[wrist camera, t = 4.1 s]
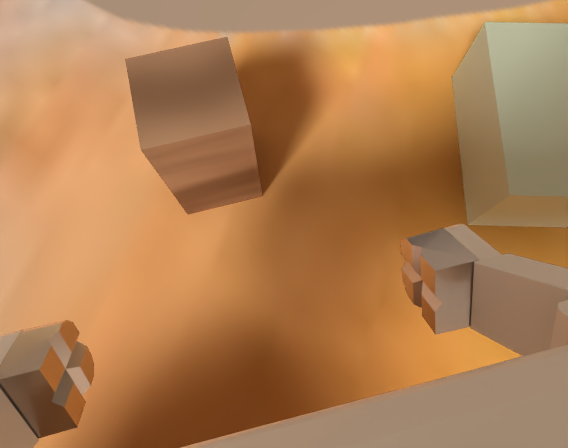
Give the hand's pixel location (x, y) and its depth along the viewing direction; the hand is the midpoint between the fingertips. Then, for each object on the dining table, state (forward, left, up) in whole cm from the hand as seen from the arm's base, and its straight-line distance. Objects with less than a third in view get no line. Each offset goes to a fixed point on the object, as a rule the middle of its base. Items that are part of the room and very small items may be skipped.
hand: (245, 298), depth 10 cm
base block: (-6, -19, -13) cm, 23 cm away
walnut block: (+8, -5, -12) cm, 16 cm away
